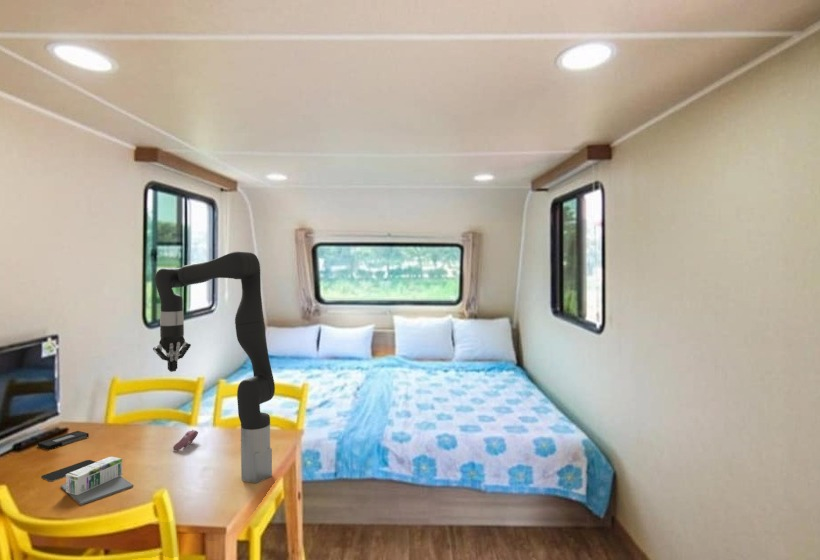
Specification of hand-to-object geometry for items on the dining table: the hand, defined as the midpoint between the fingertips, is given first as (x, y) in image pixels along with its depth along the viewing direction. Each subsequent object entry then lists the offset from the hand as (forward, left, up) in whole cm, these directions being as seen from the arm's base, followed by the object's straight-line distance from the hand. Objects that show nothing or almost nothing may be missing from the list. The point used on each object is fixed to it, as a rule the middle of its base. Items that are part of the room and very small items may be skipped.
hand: (172, 371), depth 164 cm
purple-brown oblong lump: (+8, -8, -32) cm, 34 cm away
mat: (-2, +25, -32) cm, 41 cm away
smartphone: (+18, +26, -33) cm, 45 cm away
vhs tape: (+51, +19, -33) cm, 63 cm away
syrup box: (+1, +18, -29) cm, 34 cm away
